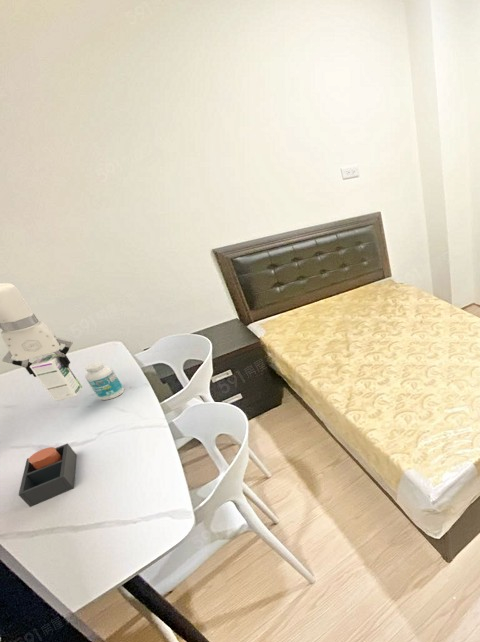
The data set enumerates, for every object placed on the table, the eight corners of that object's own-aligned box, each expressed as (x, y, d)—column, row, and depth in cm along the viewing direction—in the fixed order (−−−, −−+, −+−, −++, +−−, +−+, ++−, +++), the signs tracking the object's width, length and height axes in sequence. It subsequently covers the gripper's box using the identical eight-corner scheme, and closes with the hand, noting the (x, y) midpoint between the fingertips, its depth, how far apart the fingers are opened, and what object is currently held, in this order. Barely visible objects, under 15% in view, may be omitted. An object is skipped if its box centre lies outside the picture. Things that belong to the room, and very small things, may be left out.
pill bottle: (95, 402, 147) (74, 373, 140) (107, 390, 153) (88, 361, 147) (118, 398, 148) (99, 369, 142) (129, 387, 155) (111, 358, 148)
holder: (31, 508, 108) (18, 495, 105) (38, 472, 119) (26, 458, 116) (75, 490, 113) (63, 476, 110) (78, 456, 124) (67, 443, 121)
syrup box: (76, 396, 134) (53, 360, 128) (53, 401, 132) (28, 365, 125) (82, 387, 139) (60, 352, 132) (60, 392, 136) (36, 357, 130)
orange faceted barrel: (42, 482, 114) (26, 465, 111) (44, 470, 118) (29, 454, 115) (68, 471, 118) (54, 454, 114) (69, 460, 121) (56, 444, 118)
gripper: (-26, 336, 115) (12, 386, 123) (57, 317, 125) (87, 365, 133) (-20, 327, 120) (16, 376, 128) (59, 310, 130) (88, 356, 138)
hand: (52, 370), depth 131 cm, fingers closed on syrup box, 6 cm apart
